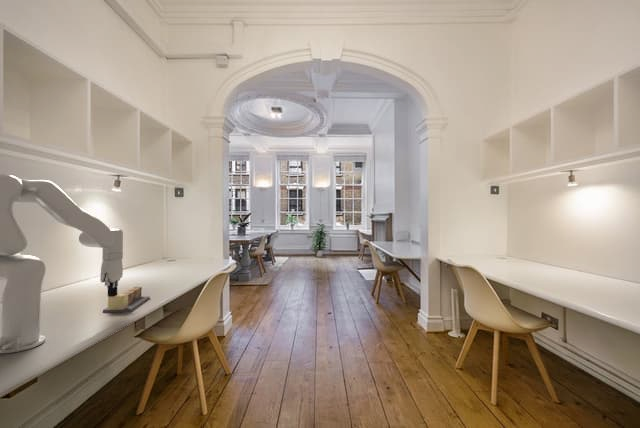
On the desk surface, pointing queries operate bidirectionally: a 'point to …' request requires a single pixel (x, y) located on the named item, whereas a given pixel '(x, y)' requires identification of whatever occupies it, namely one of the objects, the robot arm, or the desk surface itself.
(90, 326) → the desk surface
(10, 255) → the robot arm
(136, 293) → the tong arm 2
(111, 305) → the tan block
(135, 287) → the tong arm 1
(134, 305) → the tong mat
